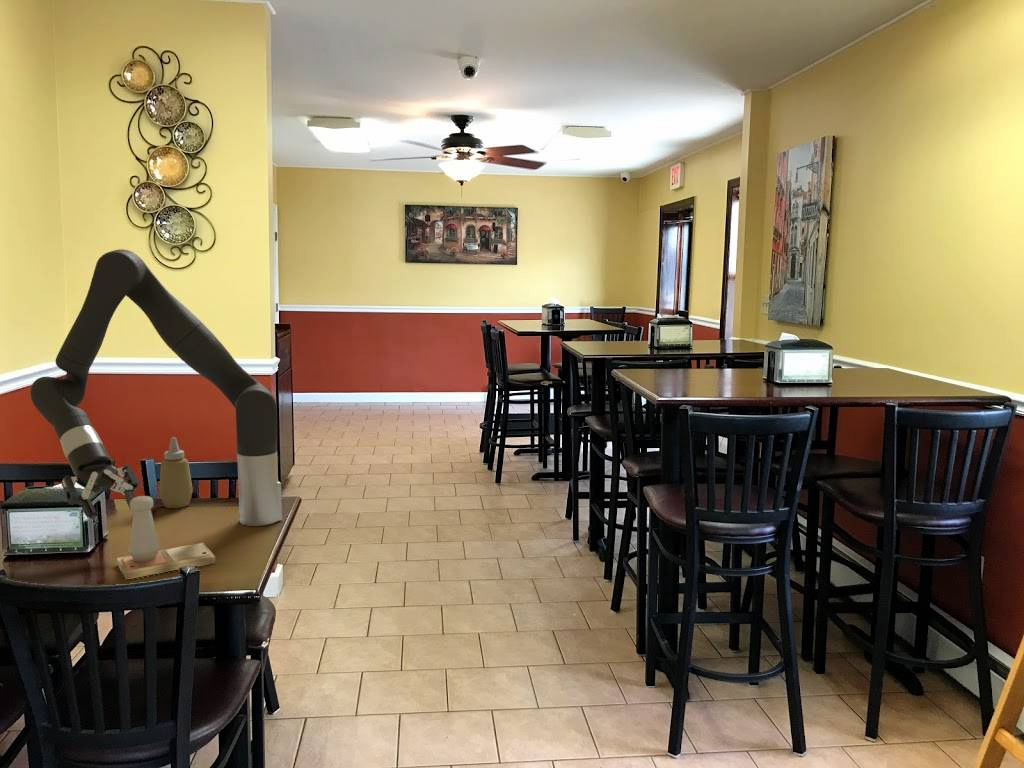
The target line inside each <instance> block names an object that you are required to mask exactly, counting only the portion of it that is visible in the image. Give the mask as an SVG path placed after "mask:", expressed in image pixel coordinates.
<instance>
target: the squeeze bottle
mask: <svg viewBox="0 0 1024 768" xmlns="http://www.w3.org/2000/svg"><path fill="white" fill-rule="evenodd" d="M163 454H164V459H163V460H162V461H161V462H160V469H159V470H160V471H159V472H160V474H159V489H158V490H159V491H158V494H159V497H160V500H161V502H162V504H163V507H164V508H167V509H178V508H184V507H187V506H189V504H190V500H191V499H192V495H193V492H194V489H193V488H194V487H193V483H192V478H191V477H192V476H191V470H190V464H189V463H190V462H189V460H188V459H187V458H185V451H184V450H183V449H180V446H179V444H178V440H177V437H170V442H169V447H168V450H166V451H165V452H164V453H163Z"/></svg>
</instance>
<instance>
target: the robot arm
mask: <svg viewBox="0 0 1024 768" xmlns="http://www.w3.org/2000/svg"><path fill="white" fill-rule="evenodd" d="M94 267H95V268H94V269H93V270H94V271H93V274H92V278H91V281H90V284H89V288H88V292H87V293H86V296H85V299H84V302H83V304H82V307H81V308H80V311H79V312H78V315H77V316H76V319H75V320H74V322H73V324H72V326H71V328H70V330H69V332H68V334H67V336H66V337H65V339H64V341H63V343H62V345H61V347H60V349H59V351H58V353H57V355H56V357H55V360H54V362H55V365H56V367H57V368H58V369H60V370H62V371H63V372H65V373H66V375H65V377H64V378H61V377H53V376H41V377H39V378H36V379H35V381H33V383H32V384H31V386H30V399H31V402H32V404H33V405H34V407H35V408H36V410H37V411H38V412H39V413H40V414H41V415H42V417H43V418H44V419H45V420H46V421H47V422H48V423H49V424H50V425H51V426H52V427H53V429H54V431H55V432H56V433H55V434H56V435H57V437H58V439H59V441H60V444H61V448H62V450H63V454H64V456H65V457H66V460H67V461H68V464H69V466H70V468H71V470H72V472H73V474H74V476H71V475H69V474H66V475H65V476H64V477H63V479H62V481H61V487H62V489H63V492H64V495H65V498H66V500H67V503H68V505H70V506H74V505H79V506H81V509H82V511H83V513H84V515H85V517H87V518H88V519H89V520H93V519H95V518H96V516H97V510H96V509H95V506H94V505H93V504H94V503H92V500H91V499H90V498H89V497H90V494H91V492H92V493H94V494H95V493H100V492H101V491H102V492H103V491H109V490H111V491H114V492H115V493H120V494H122V495H123V496H124V497H123V498H124V499H125V501H126V503H127V505H128V508H129V510H131V508H130V501H131V500H132V499H133V498H135V497H137V496H136V494H135V493H136V491H137V489H138V488H139V487H140V484H141V483H140V481H139V479H138V478H137V476H136V475H135V473H134V471H133V469H132V468H131V466H130V465H129V463H126V464H124V465H123V466H122V467H117V468H116V467H115V466H114V465H113V462H112V459H111V457H110V455H109V453H108V451H107V450H106V447H105V445H104V443H103V441H102V439H101V437H100V436H99V435H100V434H98V432H97V430H96V429H95V428H94V425H93V424H92V422H91V420H90V418H89V416H88V414H87V412H86V411H85V410H83V409H82V408H79V407H78V406H80V404H82V402H83V400H84V398H85V396H86V395H85V394H86V390H87V385H88V384H87V383H88V378H89V372H90V369H91V367H92V365H93V363H94V362H95V359H96V357H97V355H98V353H99V352H100V349H101V347H102V344H103V342H104V340H105V338H106V334H107V331H108V328H109V325H110V322H111V321H112V318H113V315H114V313H115V312H116V310H117V308H118V307H119V305H120V304H121V303H122V301H123V300H124V298H125V297H127V298H128V299H129V300H131V301H132V302H133V304H135V305H136V306H138V308H139V309H140V310H141V311H142V312H143V314H144V315H146V317H147V318H148V320H149V321H150V323H151V326H152V327H153V328H154V329H155V331H156V333H157V334H158V335H159V337H160V338H161V339H162V341H163V342H164V343H165V344H166V346H167V347H168V348H169V349H170V350H171V351H172V352H173V353H174V354H175V355H176V356H177V357H178V358H179V359H180V360H181V361H182V362H184V363H185V364H186V365H188V367H189V368H191V369H192V370H193V371H194V372H196V373H197V374H199V375H200V376H202V377H203V378H204V379H207V380H208V381H209V382H210V383H212V384H213V385H214V386H215V387H217V389H218V390H220V392H221V393H222V394H223V395H224V396H225V398H227V400H228V401H229V402H230V403H231V405H232V406H233V407H234V410H235V423H236V424H235V425H236V427H235V430H236V455H237V477H238V479H237V483H238V507H239V512H238V513H239V523H240V524H242V525H243V526H249V527H259V526H266V525H272V524H275V523H276V522H279V521H282V520H283V511H282V510H283V509H282V507H283V505H282V484H281V482H280V481H279V475H278V474H279V470H278V465H279V464H278V414H277V413H278V410H277V408H278V407H277V402H276V399H275V396H274V395H273V393H272V392H271V390H269V389H268V388H267V387H265V386H264V385H263V384H262V383H261V382H259V381H258V380H257V379H256V378H254V377H253V376H252V375H251V374H249V373H248V372H247V371H246V370H245V369H244V368H243V367H242V366H241V365H240V364H238V362H237V361H236V360H235V358H234V357H233V356H232V354H231V353H230V352H229V351H228V349H227V348H226V347H225V346H224V345H223V343H222V342H221V341H220V340H219V339H218V338H217V336H215V334H214V333H213V332H212V331H211V330H210V329H209V328H208V327H207V326H206V325H205V324H204V323H203V322H202V321H201V320H200V319H199V318H198V317H197V316H196V315H195V314H194V313H193V312H192V311H191V310H189V309H188V307H186V306H185V305H184V304H183V303H182V302H181V301H180V300H178V298H176V297H175V296H174V295H173V294H172V293H170V291H169V290H168V289H167V288H166V287H165V286H164V285H163V284H162V283H161V281H160V280H159V279H158V277H156V275H155V274H154V273H153V272H152V270H151V269H150V267H149V266H148V265H147V264H146V263H145V261H144V260H143V259H142V258H141V257H140V256H139V254H137V253H135V252H134V251H131V250H129V249H125V248H124V249H122V248H121V249H114V250H110V251H108V252H105V253H104V254H102V255H101V256H100V257H99V258H98V260H97V261H96V264H95V266H94ZM118 475H119V476H118ZM115 483H116V484H115ZM76 484H78V485H79V486H81V487H83V491H82V493H81V495H78V491H77V489H76ZM131 511H132V510H131Z"/></svg>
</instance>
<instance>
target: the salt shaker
mask: <svg viewBox="0 0 1024 768" xmlns="http://www.w3.org/2000/svg"><path fill="white" fill-rule="evenodd" d="M130 508H131V511H133V517H132V522H131V524H132V525H131V529H130V536H129V542H128V553H129V555H130V556H132V558H133V559H134V561H135V562H146V561H151V560H153V559H154V558H155V557H156V555H157V553H158V551H159V549H160V541H159V538H158V533H157V530H156V525H155V522H154V518H153V512H152V508H154V499H153V498H152V497H151V496H149V495H139V496H136V497H135V498H133V499H132V500H131V501H130ZM130 508H129V509H130Z"/></svg>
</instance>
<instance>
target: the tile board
mask: <svg viewBox="0 0 1024 768" xmlns="http://www.w3.org/2000/svg"><path fill="white" fill-rule="evenodd" d="M116 561H117V562H116V563H117V566H119V567H118V569H119V570H120V572H121V571H122V572H121V574H122V573H123V574H122V576H123V575H124V576H125V578H126V579H127V578H132V577H138V576H142V575H147V574H153V573H161V572H168V571H173V570H178V569H179V567H181V566H197V567H196V568H198V567H202V566H208V565H213V564H216V556H215V555H214V554H213V552H212V551H211V550H210V549H209V548H208V547H207V545H205V543H204V542H200V543H194V544H188V545H187V544H186V545H181V546H177V547H172V548H165V549H160V550H158V553H157V555H156V557H155V558H154V559H153V560H151V561H146V562H135V561H134V559H133V558H132V556H131V555H127V556H121V557H117V560H116ZM178 571H179V570H178ZM173 572H174V571H173ZM168 573H169V572H168ZM124 576H123V577H124ZM125 578H124V579H125Z"/></svg>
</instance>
